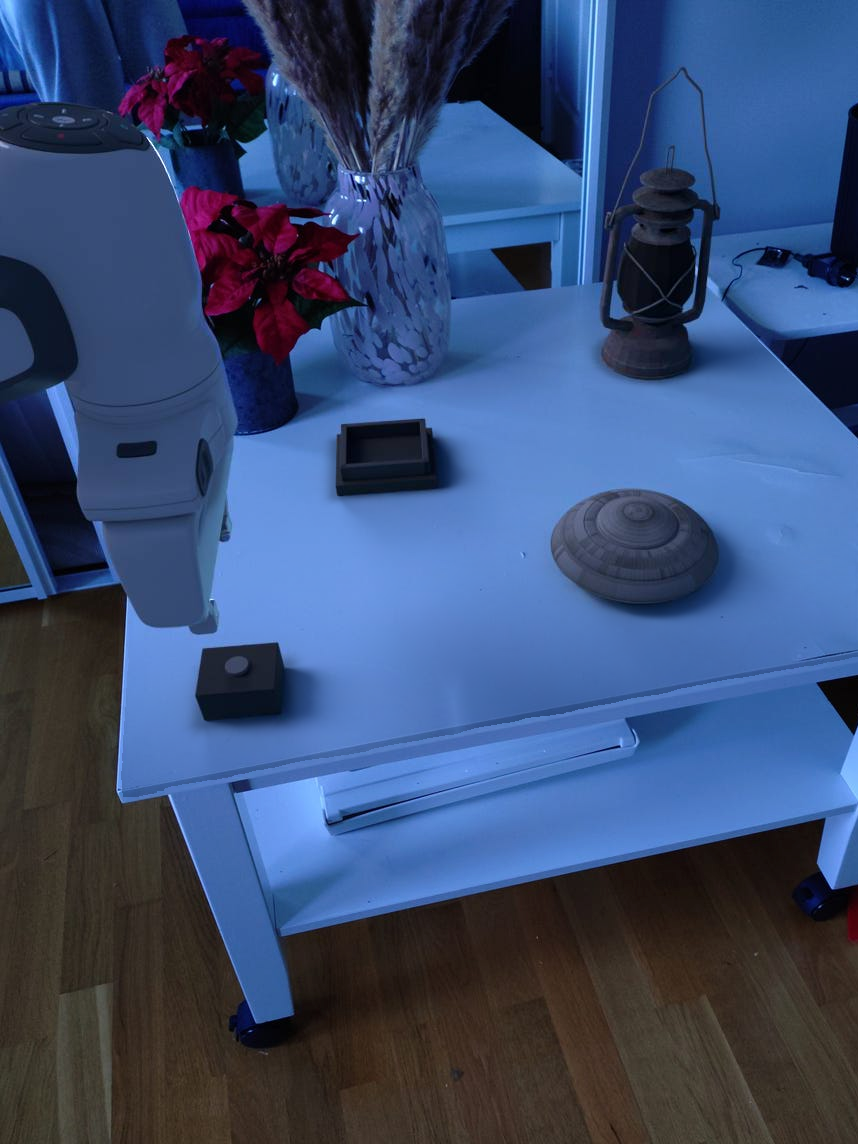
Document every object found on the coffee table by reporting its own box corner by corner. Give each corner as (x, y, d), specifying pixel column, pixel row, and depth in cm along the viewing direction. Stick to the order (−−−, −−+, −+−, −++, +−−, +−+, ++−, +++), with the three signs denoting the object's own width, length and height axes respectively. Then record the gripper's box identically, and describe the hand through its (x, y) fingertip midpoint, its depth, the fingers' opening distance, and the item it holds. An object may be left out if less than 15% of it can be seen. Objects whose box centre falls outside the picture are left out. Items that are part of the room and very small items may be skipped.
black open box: (337, 495, 92) (333, 472, 90) (338, 443, 98) (334, 420, 96) (437, 488, 93) (436, 465, 90) (432, 436, 99) (431, 414, 97)
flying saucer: (534, 516, 89) (536, 469, 85) (685, 497, 91) (694, 450, 87) (571, 626, 79) (574, 578, 75) (740, 603, 80) (752, 555, 76)
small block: (204, 720, 73) (193, 692, 70) (210, 673, 76) (201, 644, 74) (281, 714, 73) (273, 685, 70) (284, 666, 76) (277, 638, 74)
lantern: (683, 328, 114) (724, 45, 92) (712, 373, 106) (765, 77, 85) (584, 339, 112) (602, 54, 91) (607, 385, 105) (633, 88, 83)
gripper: (133, 328, 63) (187, 493, 73) (68, 519, 49) (146, 691, 59) (227, 320, 63) (268, 486, 73) (190, 508, 49) (247, 681, 59)
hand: (213, 579), depth 66 cm, fingers open, 8 cm apart
